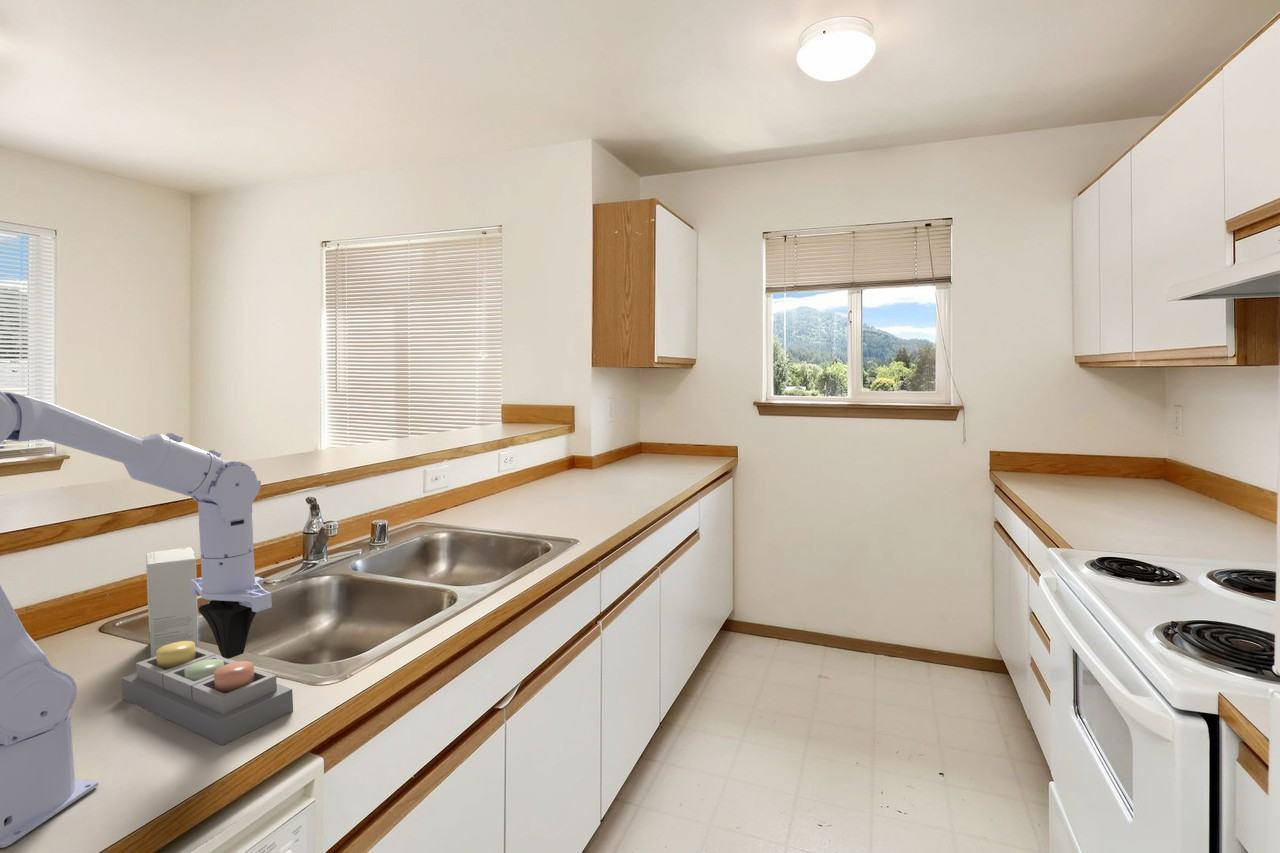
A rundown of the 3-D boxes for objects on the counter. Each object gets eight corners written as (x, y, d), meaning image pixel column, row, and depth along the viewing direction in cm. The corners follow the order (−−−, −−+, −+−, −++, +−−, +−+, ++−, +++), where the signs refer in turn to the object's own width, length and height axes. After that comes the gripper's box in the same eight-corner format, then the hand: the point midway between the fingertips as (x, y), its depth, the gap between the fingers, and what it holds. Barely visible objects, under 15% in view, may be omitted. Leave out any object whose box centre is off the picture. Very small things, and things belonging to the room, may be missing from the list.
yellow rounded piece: (202, 658, 89) (201, 644, 89) (167, 671, 86) (166, 656, 85) (185, 652, 91) (184, 638, 91) (150, 664, 88) (149, 650, 87)
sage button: (231, 677, 86) (230, 663, 86) (196, 691, 82) (195, 676, 82) (213, 670, 88) (212, 656, 88) (178, 683, 84) (177, 669, 84)
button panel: (293, 710, 84) (291, 674, 84) (222, 745, 76) (220, 705, 76) (193, 671, 95) (191, 640, 95) (123, 698, 87) (120, 663, 87)
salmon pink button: (261, 680, 83) (261, 665, 83) (227, 694, 79) (226, 679, 79) (242, 672, 85) (241, 658, 85) (207, 687, 81) (206, 672, 81)
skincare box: (150, 643, 106) (144, 552, 104) (197, 633, 110) (192, 545, 109) (150, 660, 99) (144, 563, 98) (201, 649, 103) (196, 556, 102)
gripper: (292, 552, 81) (297, 654, 82) (227, 539, 88) (232, 633, 89) (236, 566, 75) (242, 676, 76) (170, 551, 81) (176, 652, 82)
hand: (232, 655), depth 82 cm, fingers closed
